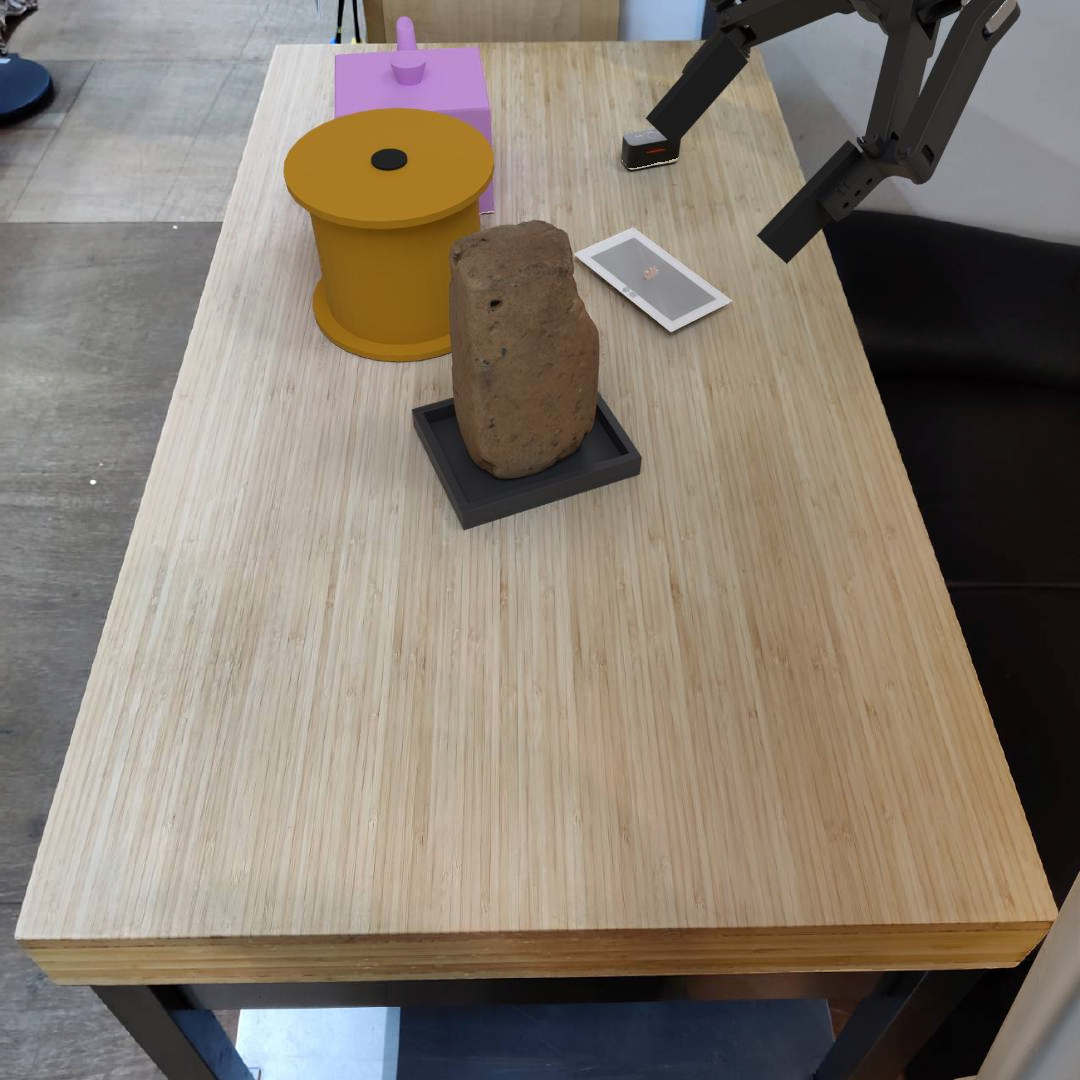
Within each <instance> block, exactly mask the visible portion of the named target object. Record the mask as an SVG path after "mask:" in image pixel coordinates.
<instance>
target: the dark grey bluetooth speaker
mask: <svg viewBox="0 0 1080 1080" xmlns="http://www.w3.org/2000/svg"><path fill="white" fill-rule="evenodd" d="M621 142H622V143H621V153H620V154H621V156H620V160H621V159H622V160H623V162H624V163H625V164H626V166H627V167H628V168H637V167H642V166H647V165H651V164H654V163H657V162H665V161H669V160H672V159H676V158H678V157H679V158H680V153H681V152H680V151H681V144H682V143H681V142H682V139H681V140H680V141H679V142H678V143H677V144H676V145H675V146H674V145H673V144H672V143H671V142H669V141H668V140H667V139H666V138H665V137H664V136H663V135H662V134H661V133H660V132H659V131H658V130H657V129H656V128H655V127H652V128H649V129H647V128H646V129H641V130H636V131H631V132H626V133H625V132H624V133H623V135H622V141H621ZM622 160H621V161H622ZM623 162H622V163H623ZM624 163H623V164H624ZM626 166H625V167H626ZM627 167H626V168H627Z"/></svg>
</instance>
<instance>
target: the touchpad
mask: <svg viewBox="0 0 1080 1080" xmlns="http://www.w3.org/2000/svg"><path fill="white" fill-rule="evenodd" d="M573 256H575V257H576V258H577V259H578V260H580V261H581V262H582V263H584V265H586V266H587V267H589V269H590V270H593V272H595V273H596V274H597V275H598V276H600V277H601V278H602V279H604V281H605V282H607V283H609V284H610V286H612V287H613V288H615V289H616V290H617V291H619V293H621V294H622V295H623V296H625V297H626V298H627V299H629V300H630V301H631V302H632V303H634V305H636V306H637V307H638V308H640V309H641V310H642V311H643V312H645V313H646V314H647V315H649V316H650V317H651V318H652V319H654V321H656V322H657V323H658V324H659V325H661V326H662V327H664V328H665V330H667V331H668V332H670V333H673V332H674V331H677V330H679V329H681V328H683V327H685V326H687V325H689V324H690V323H692V322H694V321H696V320H698V319H700V318H703V317H704V316H706V315H708V314H711V313H712V312H714V311H717V310H718V309H720V308H723V307H724V306H726V305H729V304H730V303H732V302H733V300H732V299H731V298H730V297H728V296H727V295H726V294H724V293H723V292H721V291H720V290H719V289H717V287H715V286H713V285H712V284H710V283H709V282H708V281H707V280H705V279H704V278H702V277H701V276H700V275H698V273H696V272H695V271H693V270H692V269H690V267H688V266H686V265H685V264H684V263H682V262H681V261H680V260H678V259H677V258H675V257H674V256H672V255H671V254H670V253H669V252H667V251H666V250H664V249H663V248H662V247H661V246H659V245H658V244H657V243H655V242H654V241H653V240H651V238H649V237H647V236H646V235H645V234H643V233H642V232H640V231H639V230H637V228H635V227H634V226H632V227H631V228H628V229H626V230H624V231H621V232H619V233H616V234H614V235H612V236H610V237H608V238H605V239H603V240H601V241H598V242H596V243H594V244H592V245H590V246H587V247H585V248H582V249H580V250H578V251H576V252H574V253H573Z"/></svg>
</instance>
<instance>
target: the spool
mask: <svg viewBox="0 0 1080 1080" xmlns="http://www.w3.org/2000/svg"><path fill="white" fill-rule="evenodd" d="M495 168H496V167H495V156H494V149H493V147H492V148H491V146H490V144H489V142H488V140H487V139H486V138H485V137H484V136H483V135H482V134H481V133H480V132H479V131H478V130H477V129H475V128H474V127H472V126H471V125H469V124H468V123H466V122H464V121H461V120H459V119H457V118H454V117H452V116H449V115H445V114H442V113H438V112H434V111H428V110H421V109H410V108H386V109H374V110H368V111H361V112H356V113H353V114H349V115H345V116H341V117H338V118H336V119H334V118H333V119H331V120H328V121H325V122H323V123H321V124H319V125H318V126H316V127H314V128H313V129H310V130H309V131H308V132H306V133H305V134H303V135H302V136H301V137H300V138H298V139H297V140H296V142H295V143H294V144H293V145H292V147H290V149H289V150H288V152H287V155H286V157H285V159H284V162H283V171H282V172H283V178H284V181H285V186H286V188H287V192H288V193H289V195H290V196H291V197H292V199H293V201H294V202H295V203H296V204H298V205H299V206H300V207H302V209H304V210H305V211H306V212H308V213H309V216H310V221H311V226H312V232H313V235H314V240H315V241H314V242H315V246H316V251H317V255H318V261H319V265H320V272H321V277H320V279H319V280H318V281H317V282H316V285H315V288H314V291H313V293H312V305H311V307H312V311H313V315H314V318H315V322H316V324H317V326H318V328H319V329H320V331H321V333H322V335H324V336H325V337H326V338H327V339H329V341H330V342H332V343H333V344H334V345H335V346H337V347H339V348H341V349H342V350H344V351H346V352H348V353H351V354H353V355H357V356H359V357H362V358H366V359H372V360H377V361H380V362H396V363H397V362H398V363H402V362H413V361H414V362H415V361H424V360H427V359H433V358H437V357H440V356H443V355H446V354H449V353H451V343H450V321H449V284H450V280H451V273H450V265H449V252H450V248H451V246H452V245H453V243H454V242H455V241H457V240H459V239H461V238H463V237H465V236H468V235H470V234H473V233H476V232H479V231H481V218H480V217H481V214H479V197H480V196H481V195H482V194H483V193H484V192H485V191H486V189H487V187H488V186H489V184H490V182H491V181H492V178H493V179H494V173H495Z"/></svg>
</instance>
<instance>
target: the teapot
mask: <svg viewBox="0 0 1080 1080" xmlns="http://www.w3.org/2000/svg"><path fill="white" fill-rule="evenodd" d="M416 39H417V38H416V35H415V26H414V23H413V20H412V19H411V18H410V17H409V16H406V15H405V16H400V17H399V18H398V19H397V21H396V50H391V51H390V50H387V51H375V52H374V51H371V52H356V53H355V52H354V53H340V54H339V53H338V54H335V55H334V118H333V119H336V118H338V117H341V116H345V115H349V114H353V113H356V112H361V111H368V110H374V109H386V108H410V109H421V110H428V111H434V112H438V113H442V114H445V115H449V116H452V117H454V118H457V119H459V120H461V121H464V122H466V123H468V124H469V125H471V126H472V127H474V128H475V129H477V130H478V131H479V132H480V133H481V134H482V135H483V136H484V137H485V138H486V139H487V140H488V142H489V144H490V146H491V148H492V149H493V141H492V140H493V137H492V114H491V113H492V111H491V104H490V100H489V95H488V89H487V84H486V79H485V78H486V77H485V73H484V67H483V63H482V57H481V52H480V48H479V47H478V46H464V47H446V48H445V47H443V48H428V49H427V48H426V49H425V48H423V49H419V48H418V44H417V41H416ZM494 194H495V193H494V177H493V178H492V181H491V182H490V184H489V186H488V187H487V189H486V191H485V192H484V193H483V194H482V195H481V196H480V197H479V213H482V212H488V211H494V212H495V196H494Z"/></svg>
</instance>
